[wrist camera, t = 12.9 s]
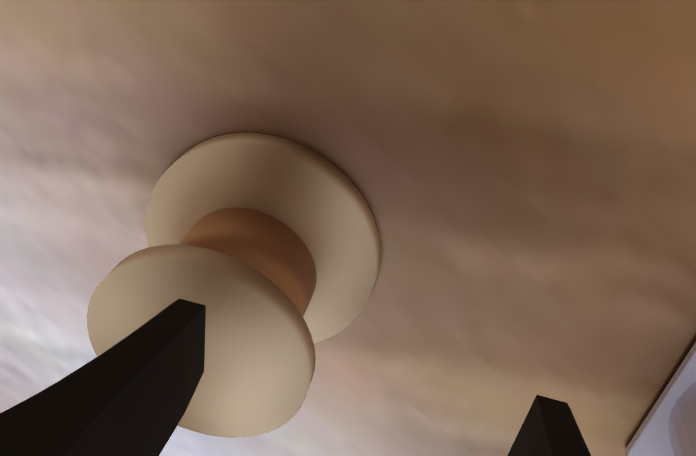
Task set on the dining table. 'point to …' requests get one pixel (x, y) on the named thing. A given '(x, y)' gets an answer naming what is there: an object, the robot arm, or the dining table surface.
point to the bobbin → (247, 273)
